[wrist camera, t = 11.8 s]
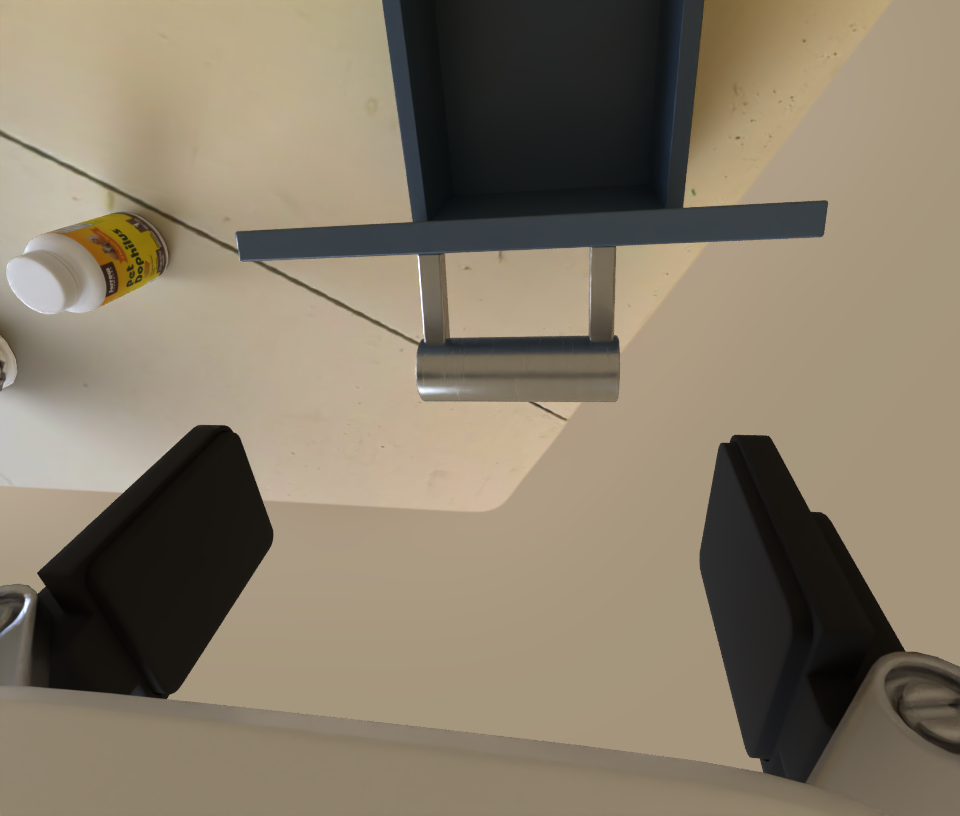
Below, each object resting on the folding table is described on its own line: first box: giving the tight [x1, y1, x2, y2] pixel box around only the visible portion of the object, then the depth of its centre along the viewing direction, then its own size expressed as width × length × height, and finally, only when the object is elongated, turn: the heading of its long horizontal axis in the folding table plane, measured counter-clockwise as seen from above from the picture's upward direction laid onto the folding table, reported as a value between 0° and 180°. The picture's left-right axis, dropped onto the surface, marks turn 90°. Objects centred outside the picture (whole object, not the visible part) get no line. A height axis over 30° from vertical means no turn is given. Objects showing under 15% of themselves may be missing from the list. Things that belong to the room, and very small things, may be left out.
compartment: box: [382, 0, 704, 222], centre depth 30 cm, size 17×15×9 cm
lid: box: [235, 201, 828, 402], centre depth 23 cm, size 18×15×5 cm
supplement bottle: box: [6, 212, 168, 314], centre depth 40 cm, size 6×6×10 cm
